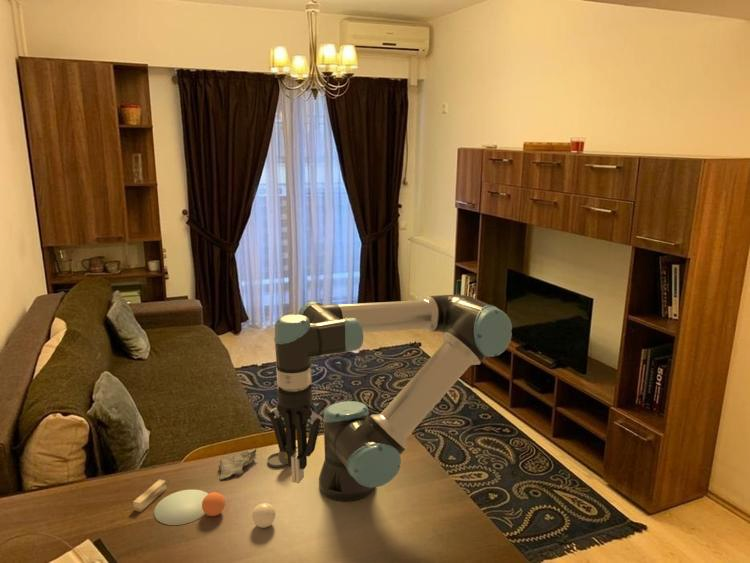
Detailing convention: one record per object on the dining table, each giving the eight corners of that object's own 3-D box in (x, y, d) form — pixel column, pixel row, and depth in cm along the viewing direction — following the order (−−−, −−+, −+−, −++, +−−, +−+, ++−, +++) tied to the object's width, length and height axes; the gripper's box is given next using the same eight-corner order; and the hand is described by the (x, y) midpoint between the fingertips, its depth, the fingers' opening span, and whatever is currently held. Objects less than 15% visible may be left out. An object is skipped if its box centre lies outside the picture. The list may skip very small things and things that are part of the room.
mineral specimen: (262, 471, 158) (263, 458, 157) (221, 482, 152) (221, 468, 151) (254, 460, 164) (255, 447, 163) (214, 470, 157) (214, 456, 156)
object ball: (224, 504, 142) (222, 485, 141) (227, 517, 137) (225, 498, 136) (201, 509, 140) (200, 490, 139) (203, 523, 135) (202, 503, 134)
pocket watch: (270, 455, 165) (268, 424, 162) (298, 455, 165) (297, 424, 162) (264, 471, 157) (262, 439, 154) (293, 471, 157) (292, 439, 154)
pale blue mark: (209, 485, 150) (209, 484, 150) (215, 516, 138) (215, 515, 138) (153, 497, 145) (153, 496, 145) (154, 531, 133) (154, 530, 132)
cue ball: (273, 515, 138) (272, 496, 137) (278, 529, 133) (277, 509, 132) (250, 521, 136) (249, 501, 135) (255, 535, 131) (253, 514, 130)
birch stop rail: (160, 487, 149) (159, 479, 149) (166, 489, 149) (165, 480, 148) (134, 510, 140) (133, 501, 139) (140, 511, 139) (139, 503, 139)
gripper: (259, 387, 121) (264, 483, 127) (315, 396, 117) (318, 494, 123) (275, 374, 128) (279, 465, 134) (328, 381, 124) (330, 475, 130)
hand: (298, 479), depth 128 cm, fingers closed
